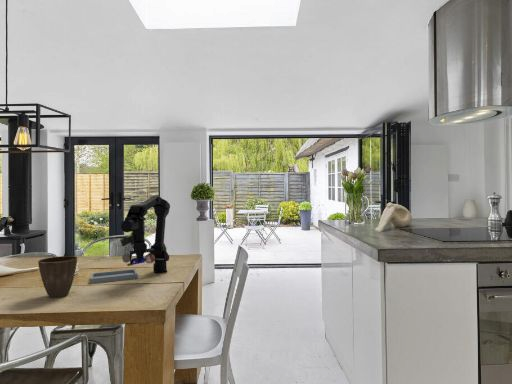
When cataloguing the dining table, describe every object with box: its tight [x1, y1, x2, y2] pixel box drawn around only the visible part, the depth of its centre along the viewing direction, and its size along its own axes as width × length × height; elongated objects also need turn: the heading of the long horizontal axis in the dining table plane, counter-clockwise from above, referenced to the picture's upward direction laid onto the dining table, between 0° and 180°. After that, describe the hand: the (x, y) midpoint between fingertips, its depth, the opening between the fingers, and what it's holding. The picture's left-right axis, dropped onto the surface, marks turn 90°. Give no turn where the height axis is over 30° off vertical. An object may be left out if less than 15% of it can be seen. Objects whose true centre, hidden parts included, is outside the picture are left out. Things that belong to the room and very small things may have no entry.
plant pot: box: [37, 255, 78, 299], centre depth 147 cm, size 15×15×16 cm
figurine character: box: [121, 247, 155, 267], centre depth 167 cm, size 7×8×15 cm
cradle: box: [90, 268, 139, 285], centre depth 175 cm, size 22×13×2 cm, turn 114°
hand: (138, 261), depth 167 cm, fingers closed on figurine character, 7 cm apart
